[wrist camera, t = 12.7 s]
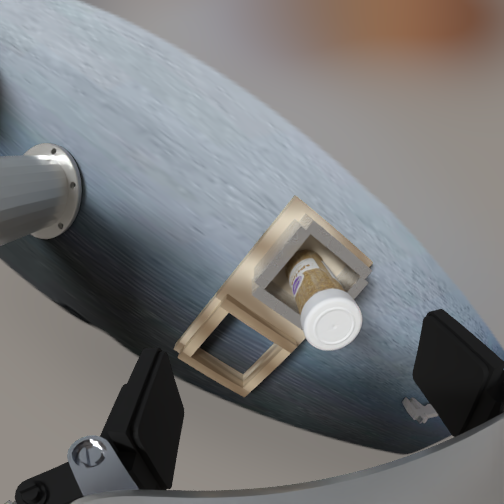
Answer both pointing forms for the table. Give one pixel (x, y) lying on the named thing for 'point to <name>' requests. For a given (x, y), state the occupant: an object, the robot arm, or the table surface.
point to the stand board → (257, 306)
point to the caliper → (419, 410)
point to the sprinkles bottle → (322, 302)
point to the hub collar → (281, 254)
